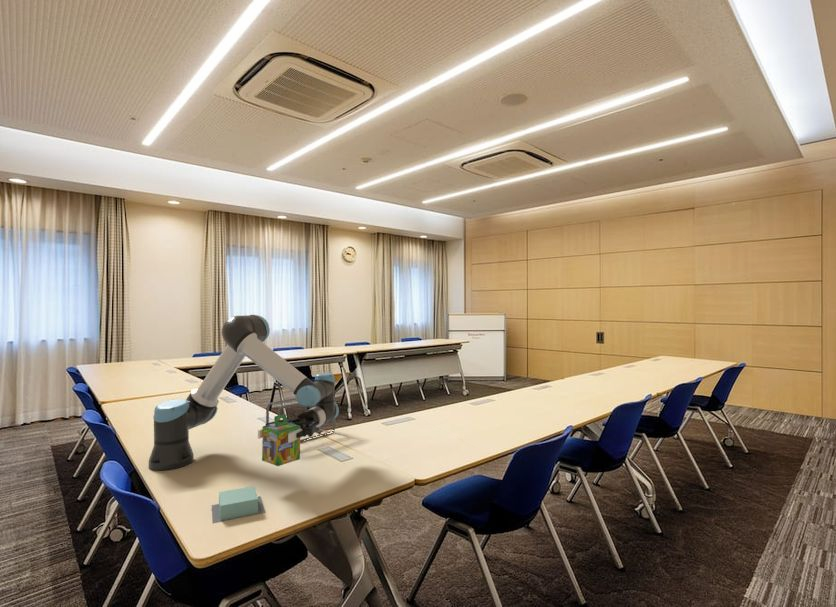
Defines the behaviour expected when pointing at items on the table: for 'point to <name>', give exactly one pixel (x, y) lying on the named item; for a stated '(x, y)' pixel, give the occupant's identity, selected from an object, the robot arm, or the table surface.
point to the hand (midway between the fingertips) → (273, 436)
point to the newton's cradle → (292, 411)
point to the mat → (217, 517)
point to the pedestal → (238, 502)
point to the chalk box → (280, 442)
